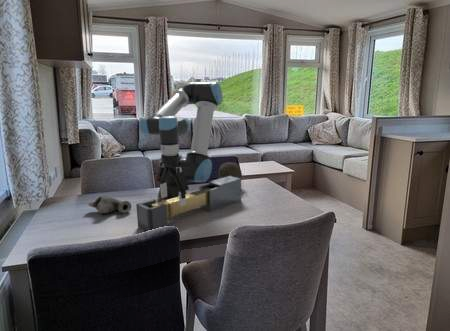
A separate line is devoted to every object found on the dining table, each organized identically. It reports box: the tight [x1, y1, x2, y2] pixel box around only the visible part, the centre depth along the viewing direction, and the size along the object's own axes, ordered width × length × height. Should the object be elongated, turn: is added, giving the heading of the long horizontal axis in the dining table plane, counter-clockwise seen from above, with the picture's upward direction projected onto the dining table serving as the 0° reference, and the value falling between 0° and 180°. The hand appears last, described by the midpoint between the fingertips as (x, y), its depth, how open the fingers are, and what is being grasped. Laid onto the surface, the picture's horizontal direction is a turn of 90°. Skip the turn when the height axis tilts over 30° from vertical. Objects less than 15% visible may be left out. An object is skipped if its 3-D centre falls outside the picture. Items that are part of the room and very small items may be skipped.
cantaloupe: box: [217, 161, 243, 180], centre depth 186 cm, size 14×14×15 cm
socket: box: [135, 198, 169, 232], centre depth 135 cm, size 10×8×10 cm
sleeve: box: [198, 176, 242, 212], centre depth 162 cm, size 8×21×12 cm, turn 134°
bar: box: [151, 188, 210, 219], centre depth 146 cm, size 6×32×6 cm, turn 134°
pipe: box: [87, 195, 132, 215], centre depth 153 cm, size 16×9×15 cm
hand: (173, 201), depth 142 cm, fingers open, 13 cm apart
